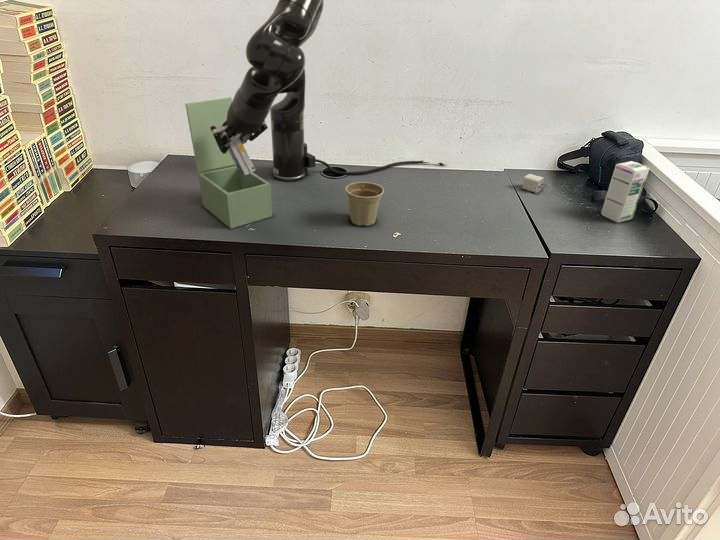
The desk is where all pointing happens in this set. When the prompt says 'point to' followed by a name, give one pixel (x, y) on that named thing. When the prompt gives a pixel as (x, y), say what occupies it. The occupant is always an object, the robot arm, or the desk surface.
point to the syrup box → (624, 191)
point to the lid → (208, 132)
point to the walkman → (240, 157)
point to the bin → (235, 196)
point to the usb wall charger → (534, 183)
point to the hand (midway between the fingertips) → (229, 148)
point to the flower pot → (364, 202)
